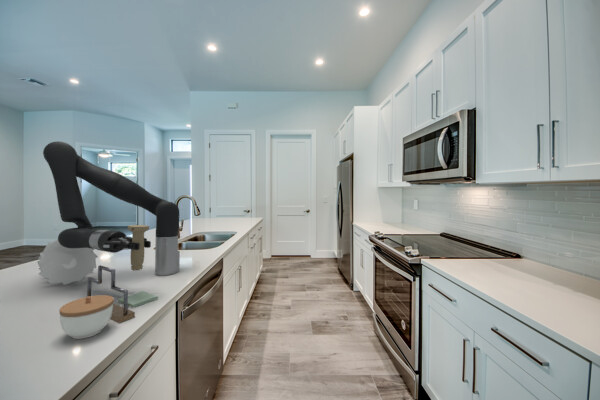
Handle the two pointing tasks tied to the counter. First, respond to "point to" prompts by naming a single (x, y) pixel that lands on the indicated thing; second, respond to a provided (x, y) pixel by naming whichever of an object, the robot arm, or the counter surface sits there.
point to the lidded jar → (86, 316)
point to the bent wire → (118, 312)
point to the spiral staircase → (66, 263)
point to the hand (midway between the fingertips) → (144, 245)
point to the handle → (138, 237)
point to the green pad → (139, 299)
